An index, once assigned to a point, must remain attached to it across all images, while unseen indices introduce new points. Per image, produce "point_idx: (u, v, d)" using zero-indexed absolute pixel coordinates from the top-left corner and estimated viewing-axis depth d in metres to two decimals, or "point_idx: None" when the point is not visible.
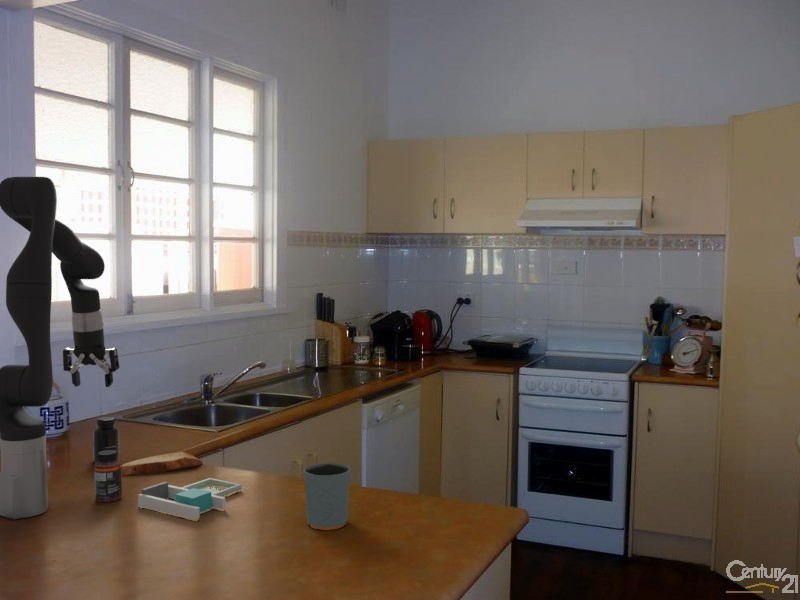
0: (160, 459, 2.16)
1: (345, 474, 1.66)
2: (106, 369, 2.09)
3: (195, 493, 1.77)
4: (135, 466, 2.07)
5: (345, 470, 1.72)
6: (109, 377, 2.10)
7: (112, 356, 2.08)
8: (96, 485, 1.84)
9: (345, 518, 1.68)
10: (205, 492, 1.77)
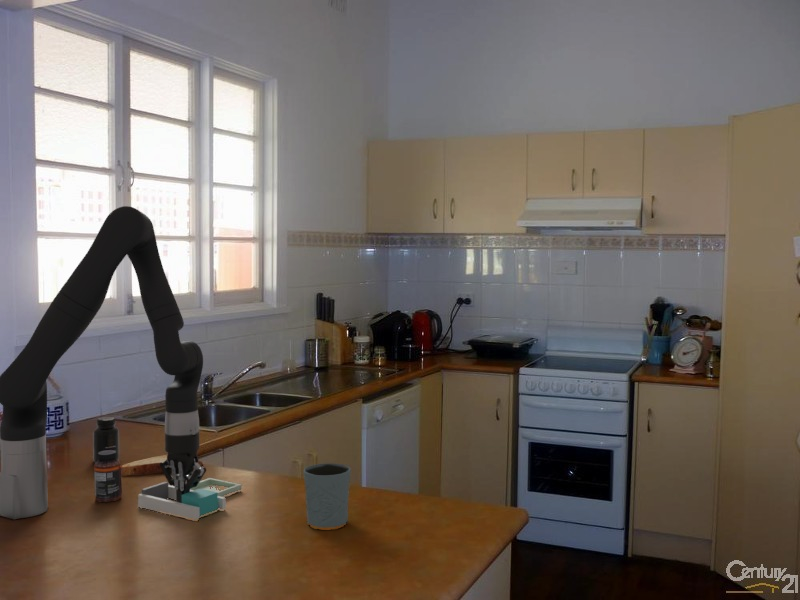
0: (161, 459, 2.15)
1: (345, 474, 1.66)
2: (182, 486, 1.77)
3: (201, 494, 1.76)
4: (135, 467, 2.07)
5: (345, 470, 1.72)
6: None
7: (194, 476, 1.75)
8: (96, 485, 1.84)
9: (345, 518, 1.68)
10: (211, 493, 1.77)
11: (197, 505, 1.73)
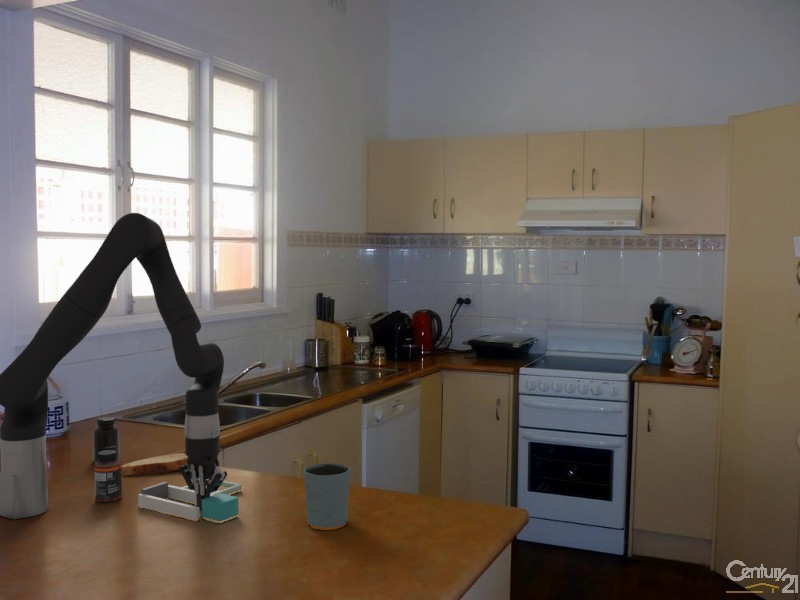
0: (161, 459, 2.15)
1: (345, 474, 1.66)
2: (202, 490, 1.74)
3: (222, 498, 1.72)
4: (135, 467, 2.06)
5: (345, 470, 1.72)
6: None
7: (215, 480, 1.72)
8: (96, 485, 1.84)
9: (345, 518, 1.68)
10: (232, 497, 1.73)
11: (218, 510, 1.69)
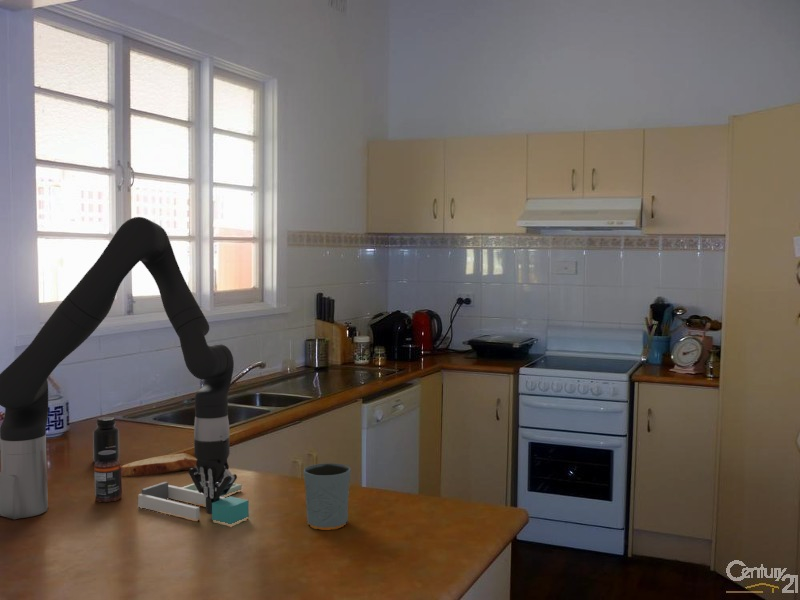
0: (161, 460, 2.14)
1: (345, 474, 1.66)
2: (212, 493, 1.72)
3: (232, 502, 1.71)
4: (135, 467, 2.06)
5: (345, 470, 1.72)
6: None
7: (225, 483, 1.70)
8: (96, 485, 1.84)
9: (345, 518, 1.68)
10: (242, 500, 1.72)
11: (228, 513, 1.68)
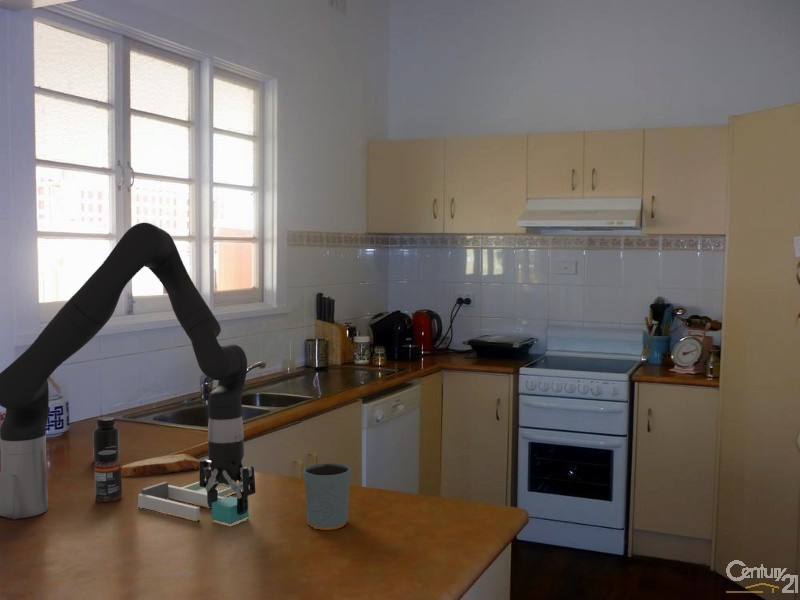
0: (161, 460, 2.14)
1: (345, 474, 1.66)
2: (238, 492, 1.68)
3: (232, 502, 1.71)
4: (135, 468, 2.06)
5: (345, 470, 1.72)
6: (242, 503, 1.69)
7: (245, 477, 1.67)
8: (96, 485, 1.84)
9: (345, 518, 1.68)
10: None
11: (228, 514, 1.68)
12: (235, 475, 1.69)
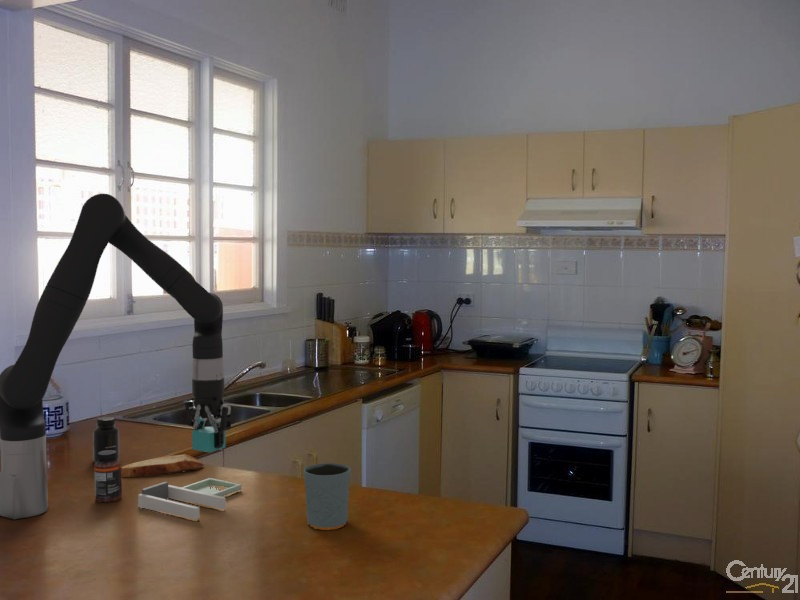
0: (162, 461, 2.13)
1: (345, 474, 1.66)
2: (216, 428, 1.87)
3: (210, 430, 1.89)
4: (134, 468, 2.05)
5: (345, 470, 1.72)
6: (218, 437, 1.87)
7: (224, 414, 1.85)
8: (96, 485, 1.84)
9: (345, 518, 1.68)
10: None
11: (207, 439, 1.86)
12: (215, 412, 1.87)
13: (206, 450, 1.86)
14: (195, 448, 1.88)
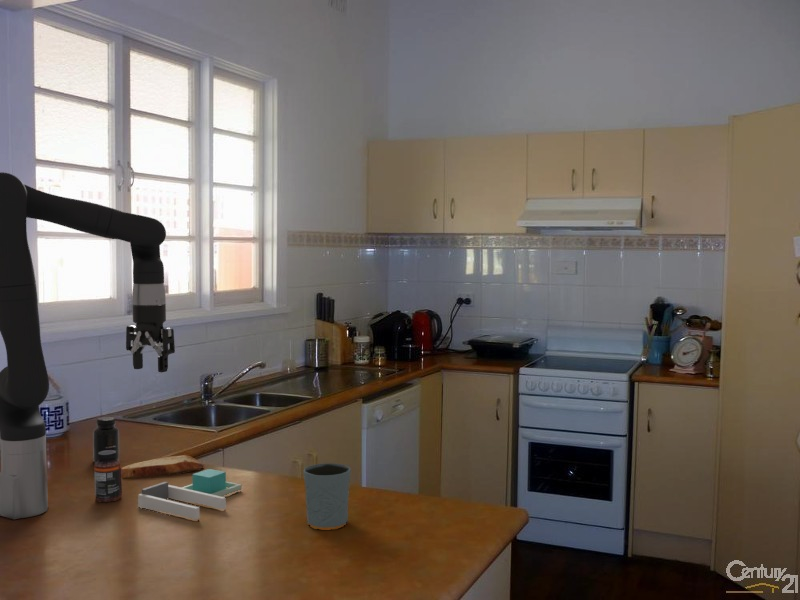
0: (162, 462, 2.12)
1: (345, 474, 1.66)
2: (159, 351, 1.84)
3: (211, 473, 1.90)
4: (134, 469, 2.05)
5: (345, 470, 1.72)
6: (162, 361, 1.85)
7: (164, 336, 1.83)
8: (96, 485, 1.84)
9: (345, 518, 1.68)
10: (220, 472, 1.91)
11: (207, 483, 1.87)
12: (156, 336, 1.85)
13: None
14: None
